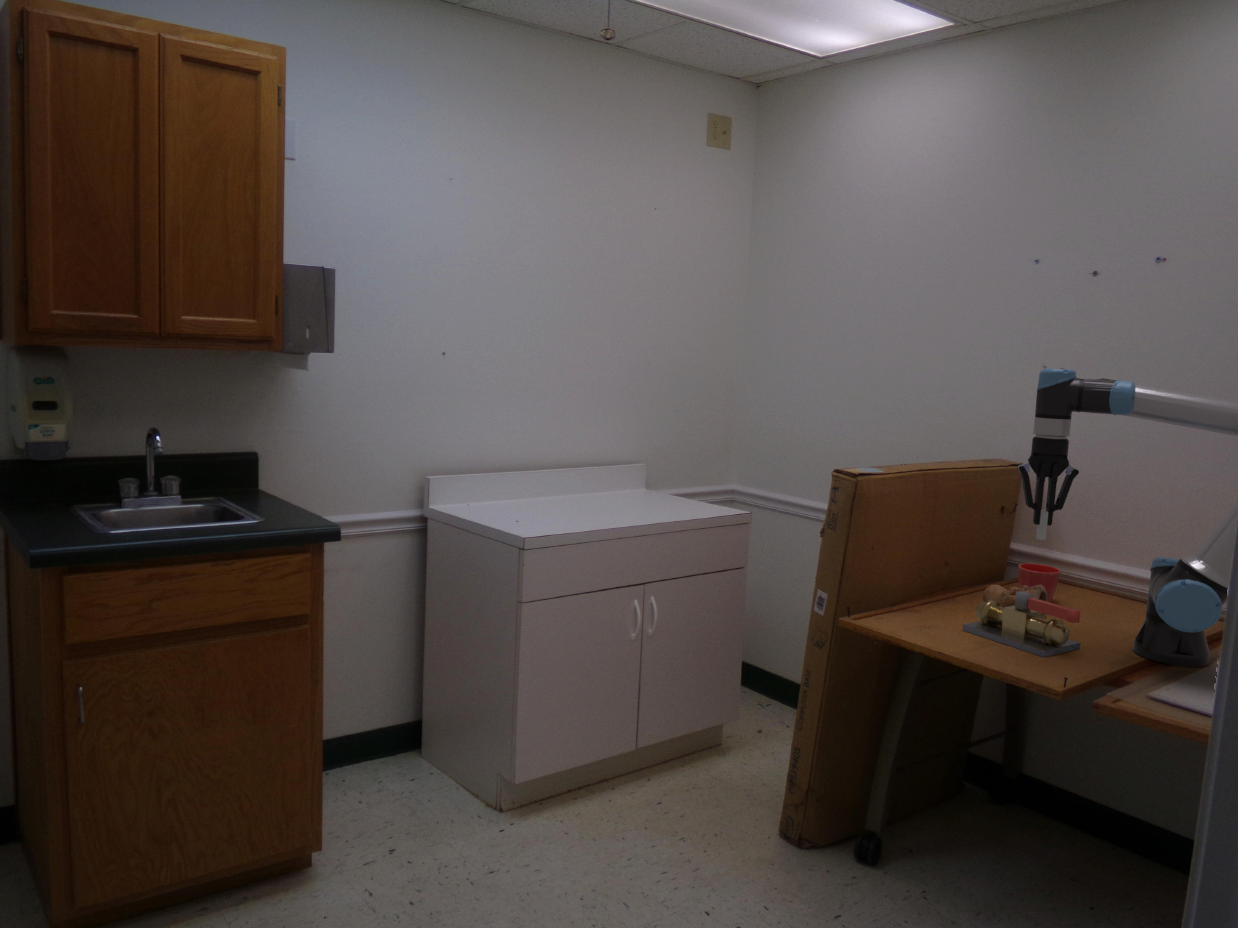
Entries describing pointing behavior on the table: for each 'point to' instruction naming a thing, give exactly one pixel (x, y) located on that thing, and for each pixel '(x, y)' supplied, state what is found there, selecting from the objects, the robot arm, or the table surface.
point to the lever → (1046, 607)
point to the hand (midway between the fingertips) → (1040, 538)
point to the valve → (1021, 629)
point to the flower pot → (1039, 577)
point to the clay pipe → (1013, 595)
